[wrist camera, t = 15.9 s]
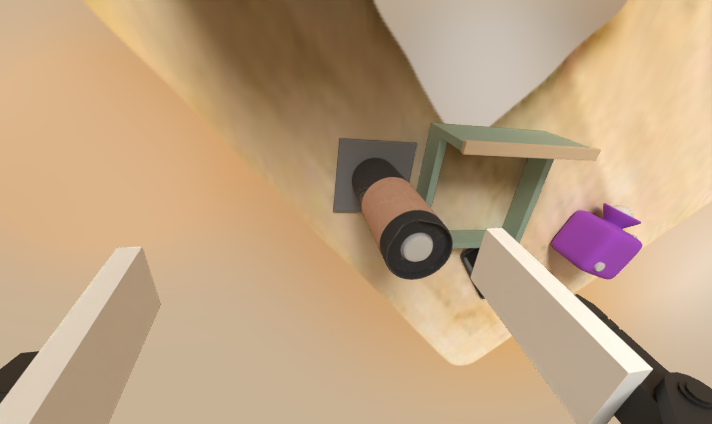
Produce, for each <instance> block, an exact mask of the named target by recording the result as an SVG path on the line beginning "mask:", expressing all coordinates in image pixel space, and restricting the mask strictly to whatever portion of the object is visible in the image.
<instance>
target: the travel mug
mask: <svg viewBox="0 0 712 424" xmlns="http://www.w3.org/2000/svg"><path fill="white" fill-rule="evenodd" d="M352 186H353V189H354V192H355V195H356V197H357V200H358V203H359V205H360V208H361V211H362V213H363V216H364V218H365V220H366V222H367V224H368V226H369V228H370V231H371V233H372V235H373V237H374V239H375V241H376V243H377V245H378V248H379V250H380V252H381V254H382V256H383V258H384V260H385V263H386V265H387V267H388V268H389V269H390V271H391V272H392V273H393V274H395V275H396V276H398V277H400V278H403V279H410V280H413V279H420V278H424V277H427V276H429V275H431V274H433V273H435V272H436V271H438V270H439V269H440V268H441V267H442V266H443V265H444V264H445V263H446V261H447V260H448V258H449V257H450V254H451V252H452V247H453V240H452V236H451V234H450V232H449V230H448V229H447V228H446V226H445V225H444V224H443V223H442V221H441V220H440V219H439V218H438V217H437V215H436V214H435V213H434V212H433V211H432V209H431V208H430V207H429V206H428V205H427V203H426V202H425V201H424V200H423V198H422V197H421V196H420V195H419V194H418V192H417V191H416V190H415V189H414V188H413V186H412V185H411V184H410V183H409V182H408V181H407V180H406V179H405V178H404V177H403V176H402V175H401V174H400V173H399V172H398V171H397V170H396V168H395V167H394V166H393V165H391V164H390V163H389V162H388V161H387V160H385V159H382V158H369V159H366V160H364V161H363V162H361V163H360V164H359V165H358V166H357V167H356V169H355V170H354V172H353V175H352Z"/></svg>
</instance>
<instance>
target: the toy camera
mask: <svg viewBox="0 0 712 424" xmlns="http://www.w3.org/2000/svg"><path fill="white" fill-rule="evenodd" d="M640 223H641V222H640V221H638V220H637V219H635V218H634V215H633V213H632V211H631V210H629V209H628V208H626V207H624V206H618V205H616V206H610V205H608V204H606V203H604V205H603V219H602V218H600V217H598V216H595V215H593V214H591V213H589V212H586V211H582V210H580V211H577V212H576V213H575V214H574V215H573V216H572V217H571V218H570V219H569V220H568V222H567V223H566V224H565V225H564V226H563V228H562V229H561V230H560V231H559V233H558V234H557V235H556V236H555V238H554V239H553V241H552V243H551V245H552V247H553V248H554V249H555V250H556V251H557V252H559V253H560V254H561V255H562V256H564V257H565V258H566V259H567V260H569V261H570V262H571V263H573V264H574V265H575V266H576V267H578V268H579V269H581V270H583V271H585V272H587V273H590V274H592V275H595V276H598V277H601V278H604V279H612V278H614V277H615V276H616V275H617V274H618V273H619V272H620V271H621V270H622V269H623V268H624V267H625V266H626V265H627V264H628V262H629V261H630V260H631V259H632V258H633V257H634V256H635V255H636V254H637V253H638V252H639V251H640V249H641V248H642V243H641V242H640V241H639V240H638V239H637V237H636V236H635V235H630V234H629V233H627V232H625V231H624V230H622V229H623V228H626V227H630V226H634V225H638V224H640Z"/></svg>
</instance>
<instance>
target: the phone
mask: <svg viewBox="0 0 712 424" xmlns="http://www.w3.org/2000/svg"><path fill="white" fill-rule="evenodd" d="M479 249H480V248H467V249H466V250H464V251H463V252H462V253H461V254H460V257H461V259H462V261H463V263H464V265H465V267H466V269H467V271H468V273H469V275H470V277H471V274H472V271H473V268H474V265H475V262H476V259H477V255H478V252H479ZM474 285H475V284H474ZM475 287H476V285H475ZM476 289H477V291H478V293H479V295H480V297H481V298H483V299H485V298H484V296H483V295H482V294H481V292H480V291H479V290H478V288H477V287H476Z"/></svg>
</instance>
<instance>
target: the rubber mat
mask: <svg viewBox="0 0 712 424" xmlns="http://www.w3.org/2000/svg"><path fill="white" fill-rule="evenodd" d="M416 146H417V143H411V142H394V141H376V140H359V139H342V138H340V139H339V150H338V162H337V173H336V184H335V196H334V207H333V212H362V211H361V208H360V205H359V203H358V200H357V197H356V195H355V192H354V189H353V186H352V175H353V172H354V170H355V169H356V167H357V166H358V165H359V164H360V163H361V162H363V161H364V160H366V159H369V158H382V159H385V160H387V161H388V162H389V163H390V164H391V165H393V166H394V167H395V168H396V170H397V171H398V172H399V173H400V174H401V175H402V176H403V177H404V178H405V179H406V180H407V181H408V182H409V180H410V175H411V171H412V166H413V161H414V156H415V151H416Z"/></svg>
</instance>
